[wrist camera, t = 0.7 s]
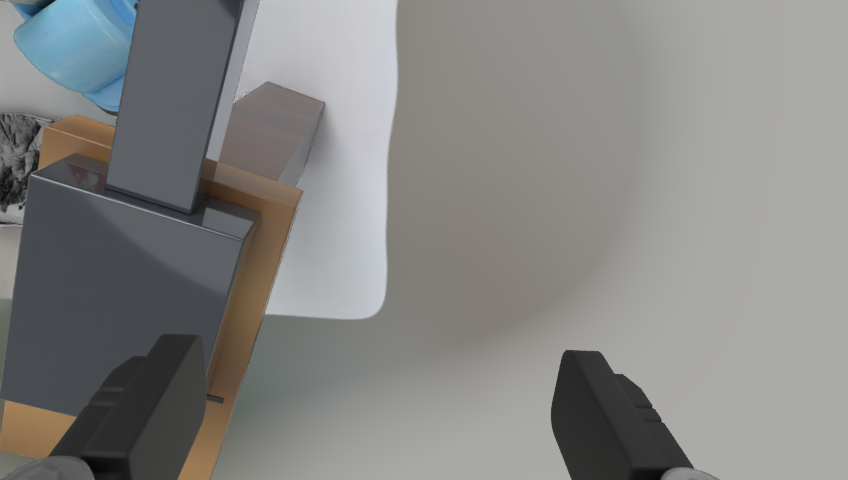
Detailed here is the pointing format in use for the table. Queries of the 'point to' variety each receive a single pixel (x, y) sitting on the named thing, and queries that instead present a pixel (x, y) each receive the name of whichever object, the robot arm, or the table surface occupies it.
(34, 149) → the stone
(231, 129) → the stand
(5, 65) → the table surface
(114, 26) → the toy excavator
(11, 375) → the slate paddle
